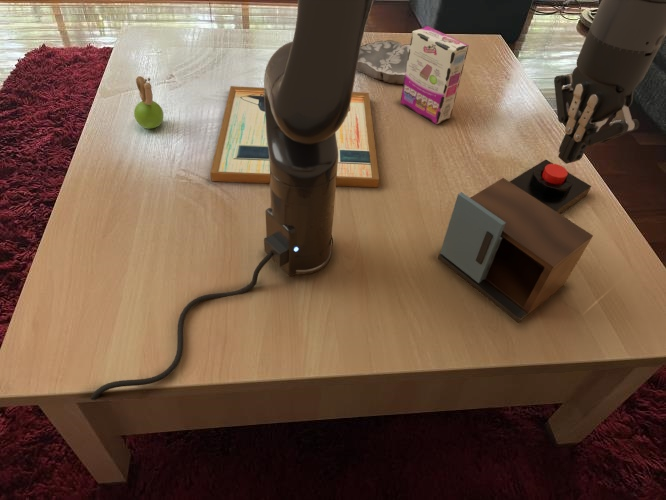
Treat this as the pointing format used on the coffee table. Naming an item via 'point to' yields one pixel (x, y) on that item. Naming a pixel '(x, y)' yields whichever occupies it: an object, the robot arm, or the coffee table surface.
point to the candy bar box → (433, 73)
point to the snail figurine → (147, 106)
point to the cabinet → (525, 250)
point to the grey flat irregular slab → (384, 60)
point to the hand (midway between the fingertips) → (567, 159)
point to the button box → (551, 188)
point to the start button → (554, 174)
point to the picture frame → (252, 149)
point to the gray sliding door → (471, 237)
